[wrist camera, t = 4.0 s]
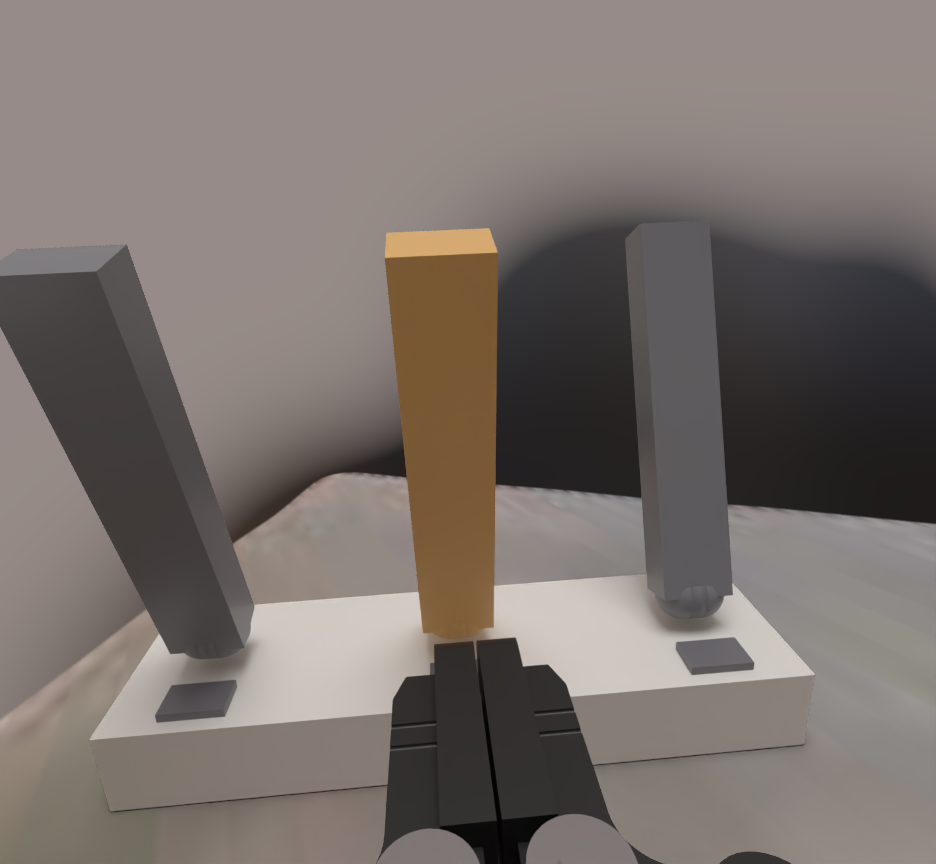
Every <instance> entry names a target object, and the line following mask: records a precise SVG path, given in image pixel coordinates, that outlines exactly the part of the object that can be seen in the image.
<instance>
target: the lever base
mask: <svg viewBox="0 0 936 864" xmlns="http://www.w3.org/2000/svg"><path fill="white" fill-rule="evenodd" d="M732 587H733V595H729V596H724V601H723V603H722V605H721V607H720V608H719V609H718V611H717V612H715V613H714V614H713V615H710V616H708V617H704V618H695V619H678V618H674V617H672V616H670V615H668V614H667V613H665V612H664V611H663V610H662V609H661V608H660V606H659V605H658V603H657V601H656V599H655V594H654V593H653V592H652V591H651V590H649V589H648V586H647V574H640V575H627V576H615V577H602V578H589V579H576V580H564V581H551V582H538V583H526V584H513V585H500V586H494V628H484V629H483V630H482V631H481V632H480V633H478V634H477V635H474V636H472V637H467V638H455V639H444V638H440V637H438V636H436V635H434V634H433V633H423V630H422V620H421V610H420V600H419V592H411V593H399V594H386V595H373V596H360V597H348V598H335V599H322V600H310V601H297V602H284V603H272V604H259V605H254V607H255V608H254V612H253V616H252V620H251V631H250V635H249V638H248V640H247V642H246V644H245V648H241V649H240V650H239V651H238V652H236V653H235V654H233V655H230V656H228V657H223V658H215V659H195V658H191V657H189V656H187V655H186V654H185V653H181V654H170V653H169V651H168V649H167V647H166V645H165V643H164V641H163V639H162V637H161V636H160V634H159V635H158V637H157V638H156V640H155V641H154V643H153V644H152V646H151V647H150V649H149V650H148V652H147V653H146V655H145V656H144V658H143V659H142V661H141V662H140V664H139V665H138V667H137V668H136V670H135V671H134V673H133V674H132V676H131V677H130V679H129V680H128V682H127V683H126V685H125V686H124V688H123V689H122V691H121V692H120V694H119V695H118V697H117V698H116V700H115V702H114V703H113V705H112V706H111V708H110V709H109V711H108V712H107V714H106V715H105V717H104V718H103V720H102V721H101V723H100V724H99V726H98V727H97V729H96V730H95V732H94V733H93V735H92V736H91V738H90V739H89V742H90V746H91V749H92V752H93V756H94V759H95V762H96V766H97V769H98V772H99V776H100V779H101V782H102V786H103V789H104V792H105V796H106V799H107V802H108V806H109V809H110V811H120V810H130V809H141V808H151V807H161V806H172V805H182V804H193V803H203V802H213V801H224V800H234V799H244V798H255V797H265V796H275V795H286V794H296V793H306V792H317V791H327V790H337V789H348V788H358V787H369V786H379V785H388V770H389V753H390V737H391V720H392V704H393V698H394V696H395V695H396V693H397V691H398V690H399V688H400V686H401V685H402V683H403V681H404V679H405V678H406V677H410V676H422V675H433V674H435V665H434V644H443V643H455V642H467V641H473V643H474V650H475V657H476V665H477V654H476V641H477V640H489V639H501V638H512V637H516V639H517V643H518V647H519V651H520V655H521V659H522V664H523V666H534V665H546V664H548V665H549V666H550V667H551V668H552V669H553V670H554V671H555V672H556V673H557V675H558V676H559V677H560V678H561V679H562V680H563V681H564V682H565V683H566V685H567V688H568V691H569V694H570V697H571V700H572V703H573V706H574V712H575V713H576V715H577V718H578V722H579V725H580V728H581V733H582V734H583V737H584V740H585V743H586V746H587V749H588V752H589V755H590V758H591V761H592V764H593V765H596V764H607V763H617V762H627V761H638V760H648V759H658V758H669V757H679V756H689V755H700V754H710V753H721V752H731V751H741V750H752V749H762V748H772V747H783V746H793V745H803V744H804V741H805V735H806V729H807V723H808V717H809V711H810V705H811V698H812V692H813V686H814V680H815V674H814V673H813V672H812V671H811V670H810V668H809V667H808V666H807V665H806V664H805V663H804V662H803V661H802V660H801V658H800V657H799V656H798V655H797V654H796V653H795V652H794V651H793V650H792V649H791V647H790V646H789V645H788V644H787V643H786V642H785V641H784V640H783V639H782V637H781V636H780V635H779V634H778V633H777V632H776V631H775V630H774V629H773V627H772V626H771V625H770V624H769V623H768V622H767V621H766V620H765V619H764V618H763V616H762V615H761V614H760V613H759V612H758V611H757V610H756V609H755V608H754V606H753V605H752V604H751V603H750V602H749V601H748V600H747V599H746V598H745V596H744V595H743V594H742V593H741V592H740V591H739V590H738V589H737V588H736V587H735V585H734V584H733V583H732Z"/></svg>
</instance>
